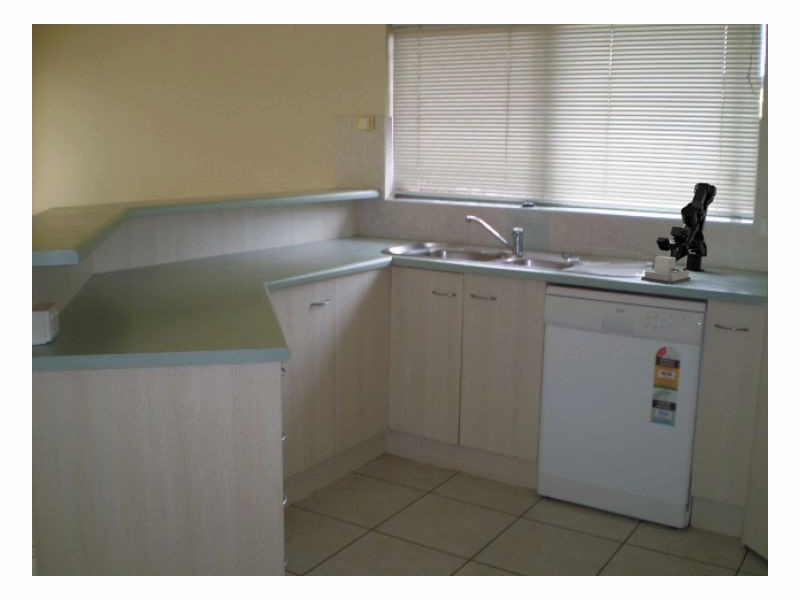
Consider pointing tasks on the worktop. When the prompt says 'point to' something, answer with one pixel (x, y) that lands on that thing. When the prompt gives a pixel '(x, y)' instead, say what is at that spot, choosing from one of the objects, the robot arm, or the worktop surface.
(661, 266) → the gauge carriage
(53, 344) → the worktop surface
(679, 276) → the gauge base
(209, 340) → the worktop surface
